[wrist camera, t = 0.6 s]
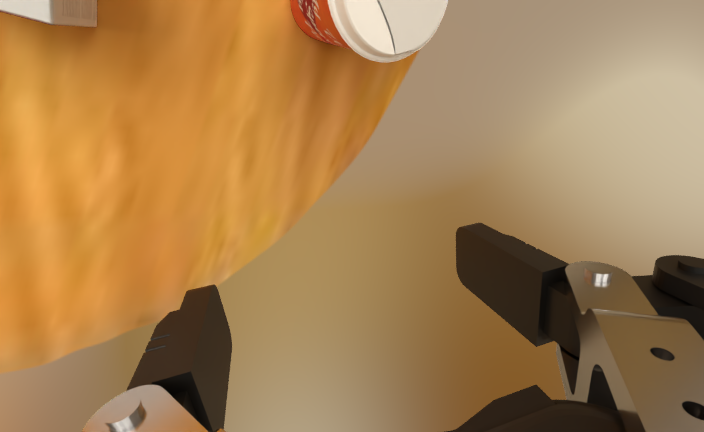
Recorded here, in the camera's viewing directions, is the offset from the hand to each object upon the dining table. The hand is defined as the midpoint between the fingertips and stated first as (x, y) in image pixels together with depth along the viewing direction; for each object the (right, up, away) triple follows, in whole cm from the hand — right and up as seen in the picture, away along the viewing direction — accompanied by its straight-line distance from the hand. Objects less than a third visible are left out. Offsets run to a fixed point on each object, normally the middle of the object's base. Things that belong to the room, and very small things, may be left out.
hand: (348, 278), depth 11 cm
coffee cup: (-3, +22, +21) cm, 30 cm away
